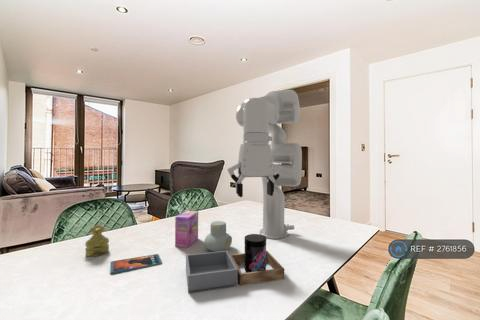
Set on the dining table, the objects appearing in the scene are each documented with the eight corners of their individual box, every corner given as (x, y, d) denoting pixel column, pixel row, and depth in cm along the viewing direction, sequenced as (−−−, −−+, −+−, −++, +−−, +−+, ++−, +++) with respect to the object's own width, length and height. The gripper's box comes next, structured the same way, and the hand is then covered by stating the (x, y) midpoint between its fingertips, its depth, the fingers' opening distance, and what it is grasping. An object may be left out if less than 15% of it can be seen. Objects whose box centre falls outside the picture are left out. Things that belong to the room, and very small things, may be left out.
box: (188, 248, 91) (188, 217, 90) (174, 246, 92) (174, 216, 91) (198, 238, 101) (198, 211, 100) (186, 237, 102) (186, 210, 102)
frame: (267, 259, 81) (267, 250, 81) (284, 278, 68) (284, 268, 68) (229, 263, 77) (229, 254, 77) (240, 285, 65) (240, 274, 65)
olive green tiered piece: (113, 250, 88) (113, 223, 88) (95, 258, 81) (95, 229, 81) (99, 247, 90) (98, 221, 90) (80, 255, 83) (79, 227, 83)
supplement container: (243, 276, 70) (243, 241, 70) (244, 265, 76) (244, 233, 76) (266, 277, 69) (266, 242, 69) (265, 266, 76) (265, 234, 76)
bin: (227, 264, 77) (227, 250, 77) (237, 285, 65) (237, 269, 64) (185, 269, 74) (185, 254, 74) (188, 293, 61) (188, 275, 61)
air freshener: (222, 256, 83) (222, 228, 83) (201, 253, 86) (201, 226, 86) (233, 245, 93) (233, 220, 93) (214, 242, 96) (215, 218, 96)
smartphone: (162, 263, 77) (110, 272, 70) (162, 267, 77) (110, 276, 70) (158, 252, 84) (110, 260, 77) (158, 256, 84) (110, 264, 77)
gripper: (276, 141, 78) (276, 192, 78) (225, 140, 73) (225, 194, 74) (287, 139, 71) (286, 196, 71) (230, 138, 66) (230, 199, 66)
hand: (255, 195), depth 72 cm, fingers open, 9 cm apart
